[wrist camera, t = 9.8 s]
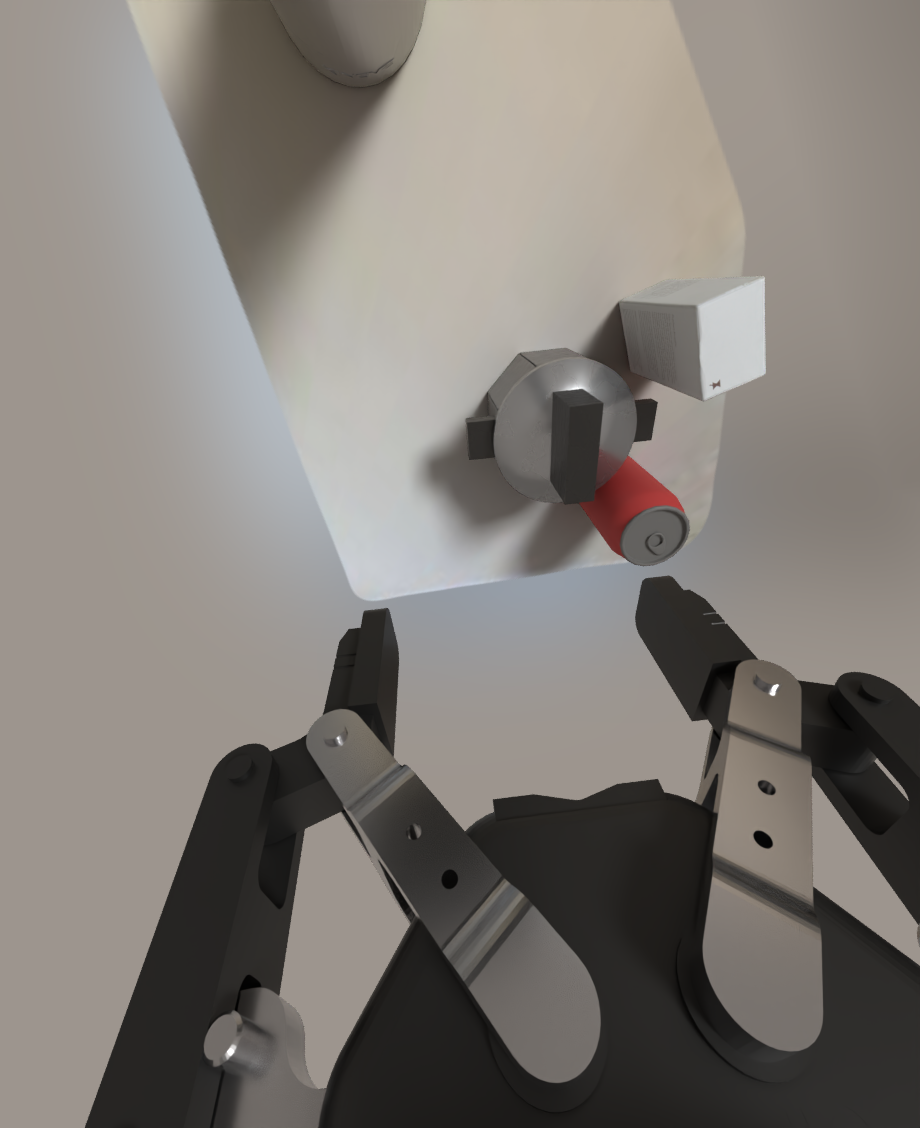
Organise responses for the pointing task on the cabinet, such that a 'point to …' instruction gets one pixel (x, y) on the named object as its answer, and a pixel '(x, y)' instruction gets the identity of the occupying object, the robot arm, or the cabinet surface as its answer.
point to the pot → (522, 364)
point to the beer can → (638, 516)
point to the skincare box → (697, 333)
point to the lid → (564, 430)
